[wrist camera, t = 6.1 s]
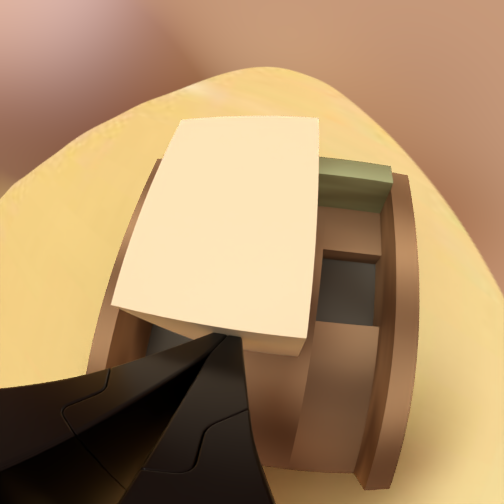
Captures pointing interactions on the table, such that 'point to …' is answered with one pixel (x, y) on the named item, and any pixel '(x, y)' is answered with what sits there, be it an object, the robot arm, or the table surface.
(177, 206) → the cream block
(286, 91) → the table surface
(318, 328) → the tray
